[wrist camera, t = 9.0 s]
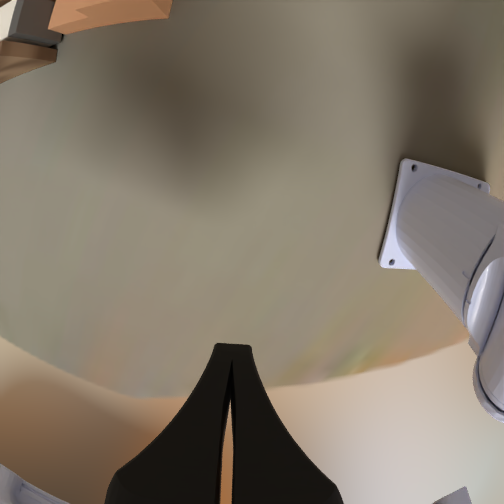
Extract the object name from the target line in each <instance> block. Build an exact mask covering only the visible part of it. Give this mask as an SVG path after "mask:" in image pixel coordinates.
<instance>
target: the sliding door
mask: <svg viewBox="0 0 504 504" xmlns="http://www.w3.org/2000/svg"><path fill="white" fill-rule="evenodd" d="M54 5H55V2H53V1H50V0H12V1H10V2H8V3H7V4H5V5H4V6H2V7H0V41H2V40H5V41H13V42H19V43H26V44H31V45H37V46H42V47H49V46H52V45H54V44H57V43H60V42H61V37H62V33H59V32H56V31H52V30H49V29H48V26H49V22H50V19H51V15H52V12H53V8H54Z"/></svg>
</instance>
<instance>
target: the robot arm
mask: <svg viewBox="0 0 504 504" xmlns="http://www.w3.org/2000/svg"><path fill="white" fill-rule="evenodd" d="M413 164H414V165H415V168H414V170H413V171H412V169H411V167H412V165H413ZM478 184H479V186H478ZM489 191H490V185H489V184H488V183H486V182H484V181H481V180H478V179H475V178H472V177H469V176H466V175H463V174H460V173H457V172H454V171H451V170H447V169H444V168H441V167H437V166H434V165H430V164H427V163H423V162H419V161H415V160H411V159H407V158H405V159H403V160H402V161H401V163H400V168H399V174H398V179H397V184H396V189H395V194H394V199H393V204H392V209H391V213H390V217H389V222H388V226H387V230H386V234H385V238H384V242H383V245H382V249H381V253H380V256H379V261H378V262H379V264H380V266H381V267H383V268H399V269H416V270H417V271H418V272H419V273H420V274H421V275H422V276H423V277H424V278H425V280H426V281H427V282H428V283H429V284H430V285H431V286H432V287H433V289H434V290H435V291H436V292H437V293H438V294H439V296H440V297H441V298H442V299H443V300H444V301H445V303H446V304H447V305H448V306H449V307H450V309H451V310H452V311H453V312H454V314H455V315H456V316H457V317H458V319H459V320H460V321H461V322H462V324H463V325H464V326H465V327H466V328H467V330H468V332H469V334H470V338H469V342H468V344H469V345H470V346H471V348H472V350H473V351H474V352H475V354H476V355H477V359H476V362H475V366H474V369H473V386H474V390H475V393H476V396H477V398H478V400H479V402H480V404H481V405H482V407H483V408H484V409H485V410H486V412H487V413H488V414H490V415H491V416H492V417H493V418H495V419H496V420H498V421H500V422H502V423H504V201H502V200H500V199H498V198H496V197H494V196H492V195H490V194H489ZM391 259H393V260H392V262H391V263H389V261H390V260H391ZM230 398H231V416H232V433H233V479H232V504H344V503H343V500H342V497H341V495H340V492H339V490H338V488H337V486H336V485H335V484H334V483H333V482H332V481H331V480H330V479H329V478H328V477H326V475H325V474H323V473H322V472H321V471H320V470H319V469H318V468H317V466H316V465H315V464H314V463H313V462H312V461H311V460H310V459H309V458H308V457H307V456H306V454H305V453H304V452H303V451H302V450H301V448H300V447H299V446H298V444H297V443H296V442H295V441H294V439H293V438H292V436H291V435H290V434H289V432H288V431H287V429H286V428H285V426H284V425H283V423H282V421H281V420H280V418H279V416H278V415H277V413H276V411H275V409H274V408H273V406H272V404H271V402H270V400H269V398H268V396H267V393H266V391H265V389H264V387H263V384H262V382H261V379H260V377H259V374H258V371H257V368H256V365H255V362H254V358H253V354H252V347H251V346H250V345H242V344H226V343H217V344H215V346H214V349H213V352H212V355H211V357H210V360H209V362H208V364H207V366H206V368H205V370H204V372H203V374H202V376H201V378H200V380H199V381H198V383H197V385H196V387H195V388H194V390H193V391H192V393H191V394H190V396H189V398H188V399H187V401H186V402H185V404H184V405H183V407H182V408H181V409H180V410H179V412H178V413H177V415H176V416H175V417H174V418H173V419H172V421H171V422H170V423H169V424H168V425H167V426H166V428H165V429H164V430H163V431H162V432H161V433H160V434H159V435H158V436H157V437H156V438H155V439H154V440H153V441H152V442H151V443H150V444H149V445H148V446H147V447H146V448H145V449H144V450H143V451H141V452H140V453H139V454H138V455H137V456H136V457H135V458H133V459H132V460H131V461H129V462H128V463H127V464H125V465H124V466H123V467H121V468H120V469H119V470H117V472H116V473H115V474H114V476H113V478H112V480H111V482H110V484H109V487H108V490H107V494H106V499H105V504H220V493H221V471H222V452H223V442H224V436H225V429H226V423H227V418H228V411H229V405H230ZM0 504H69V503H67V502H65V501H63V500H60V499H58V498H56V497H54V496H52V495H50V494H48V493H46V492H44V491H42V490H41V489H39V488H37V487H35V486H33V485H31V484H29V483H28V482H26V481H24V480H23V479H22V478H21V477H19V476H18V475H17V474H15V473H14V472H12V471H11V470H9V469H8V468H6V467H5V466H3V465H1V464H0ZM433 504H472V503H471V500H470V497H469V494H468V491H467V488H466V487H463V488H461V489H459V490H457V491H455V492H453V493H451V494H449V495H447V496H445V497H443V498H441V499H439V500H437V501H435V502H434V503H433Z"/></svg>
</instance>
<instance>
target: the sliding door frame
mask: <svg viewBox="0 0 504 504" xmlns="http://www.w3.org/2000/svg"><path fill="white" fill-rule="evenodd" d="M10 1H12V0H0V7H2V6H4V5H5V4H7V3H8V2H10ZM50 1H53V2H56V0H50ZM56 56H57V50H56V49H52V48H47V47H42V46H37V45H31V44H26V43H19V42H13V41H5V40H2V41H0V83H2V82H5V81H7V80H9V79H11V78H14V77H16V76H18V75H21V74H23V73H26V72H29V71H31V70H34V69H37V68H39V67H42V66H45V65H48V64H51V63H54V62H56Z"/></svg>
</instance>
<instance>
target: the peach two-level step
mask: <svg viewBox="0 0 504 504" xmlns="http://www.w3.org/2000/svg"><path fill="white" fill-rule="evenodd" d="M172 1H173V0H56V2H55V5H54V8H53V12H52V15H51V19H50V22H49V26H48V29H49V30H52V31H56V32H59V33H62V34H65V35H66V34H70V33H74V32H78V31H82V30H87V29H91V28H96V27H101V26H107V25H112V24H119V23H126V22H133V21H142V20H153V19H168V18H169V14H170V10H171V5H172Z"/></svg>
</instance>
